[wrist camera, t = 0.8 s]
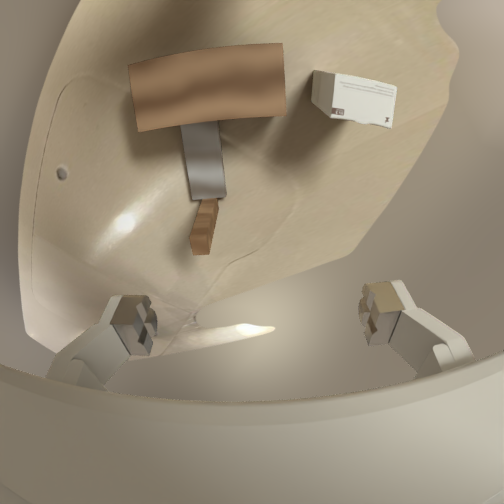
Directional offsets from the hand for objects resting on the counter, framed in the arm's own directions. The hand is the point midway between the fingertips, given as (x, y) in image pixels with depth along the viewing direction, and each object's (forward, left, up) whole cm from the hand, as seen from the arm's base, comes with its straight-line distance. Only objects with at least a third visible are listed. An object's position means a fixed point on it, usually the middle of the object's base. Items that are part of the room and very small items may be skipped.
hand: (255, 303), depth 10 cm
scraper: (+8, -9, -40) cm, 41 cm away
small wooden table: (-7, -6, -40) cm, 41 cm away
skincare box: (-5, +13, -40) cm, 42 cm away
